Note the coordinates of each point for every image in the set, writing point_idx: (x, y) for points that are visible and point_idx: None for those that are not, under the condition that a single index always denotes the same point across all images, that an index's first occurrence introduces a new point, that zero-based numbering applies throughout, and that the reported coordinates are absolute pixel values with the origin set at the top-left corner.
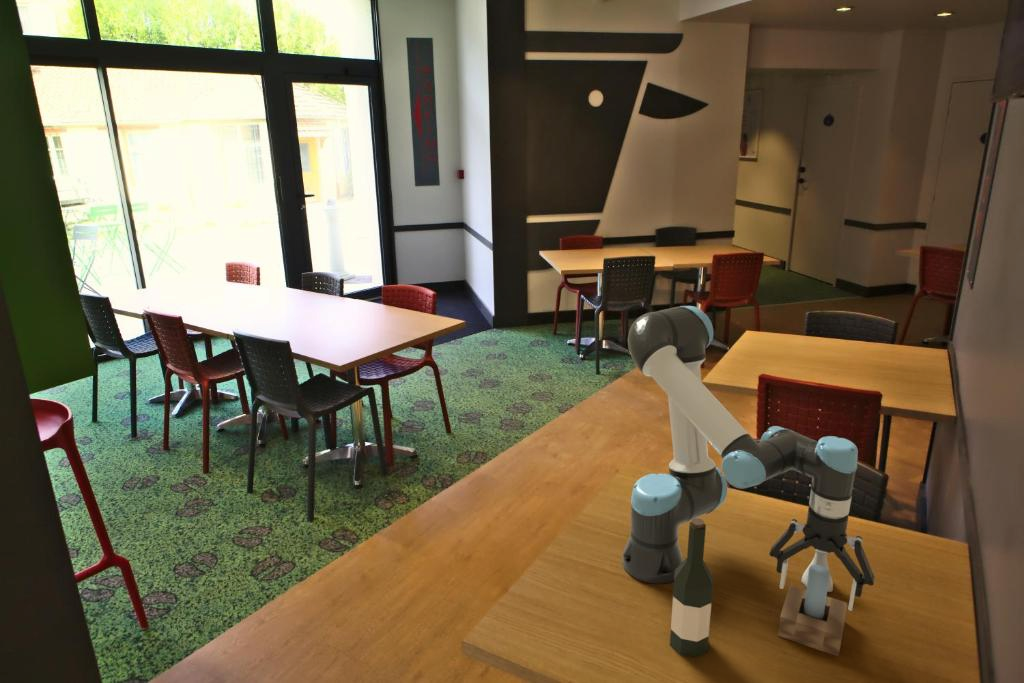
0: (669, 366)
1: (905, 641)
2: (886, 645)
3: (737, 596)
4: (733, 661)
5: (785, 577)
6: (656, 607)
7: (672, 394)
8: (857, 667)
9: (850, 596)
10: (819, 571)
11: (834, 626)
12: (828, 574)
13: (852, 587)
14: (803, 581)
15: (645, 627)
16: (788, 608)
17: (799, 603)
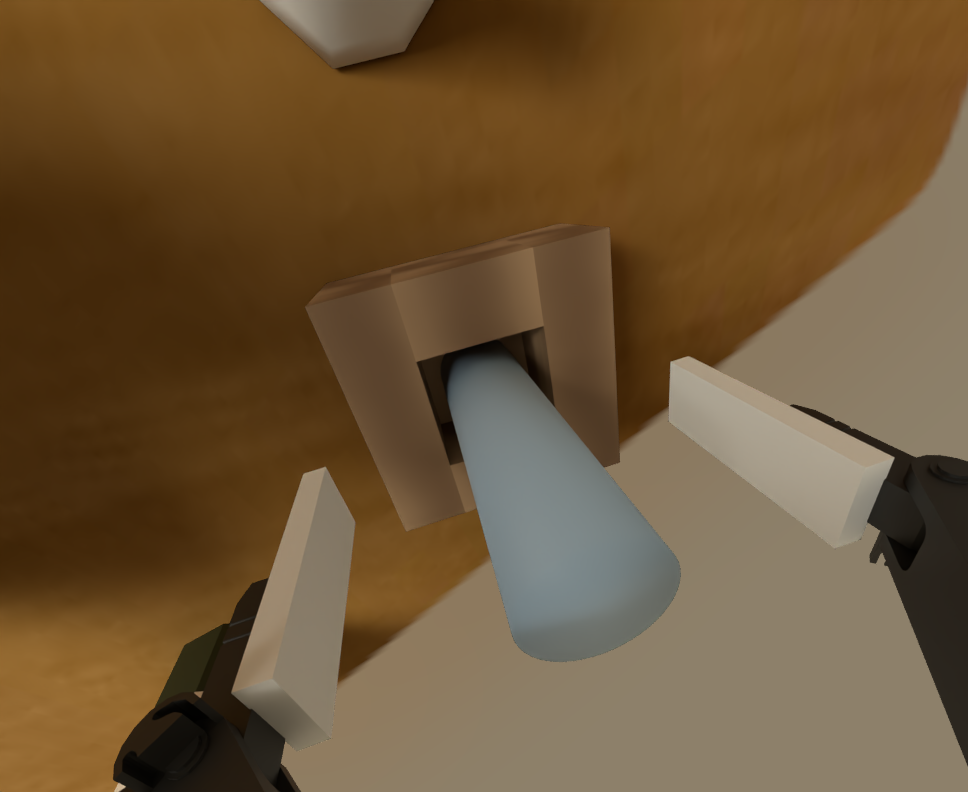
0: None
1: (763, 172)
2: (702, 251)
3: (143, 403)
4: (370, 616)
5: (327, 524)
6: (28, 649)
7: None
8: (629, 416)
9: (736, 471)
10: (600, 613)
11: (588, 433)
12: (672, 591)
13: (807, 524)
14: (274, 7)
15: (110, 704)
16: (405, 472)
17: (424, 409)
